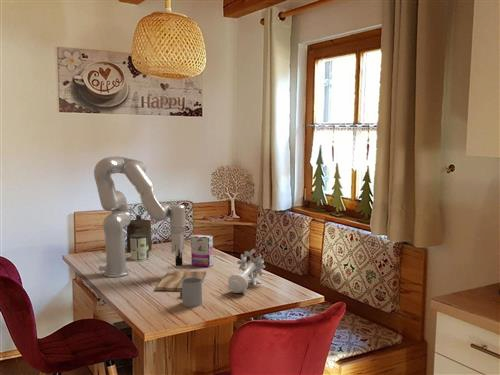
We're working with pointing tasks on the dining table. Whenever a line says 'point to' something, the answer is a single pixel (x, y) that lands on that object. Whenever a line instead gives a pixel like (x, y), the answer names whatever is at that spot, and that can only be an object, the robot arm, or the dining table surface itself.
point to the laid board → (191, 275)
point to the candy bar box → (202, 250)
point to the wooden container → (139, 230)
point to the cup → (192, 292)
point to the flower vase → (246, 272)
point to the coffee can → (139, 247)
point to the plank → (171, 280)
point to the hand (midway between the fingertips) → (179, 265)
